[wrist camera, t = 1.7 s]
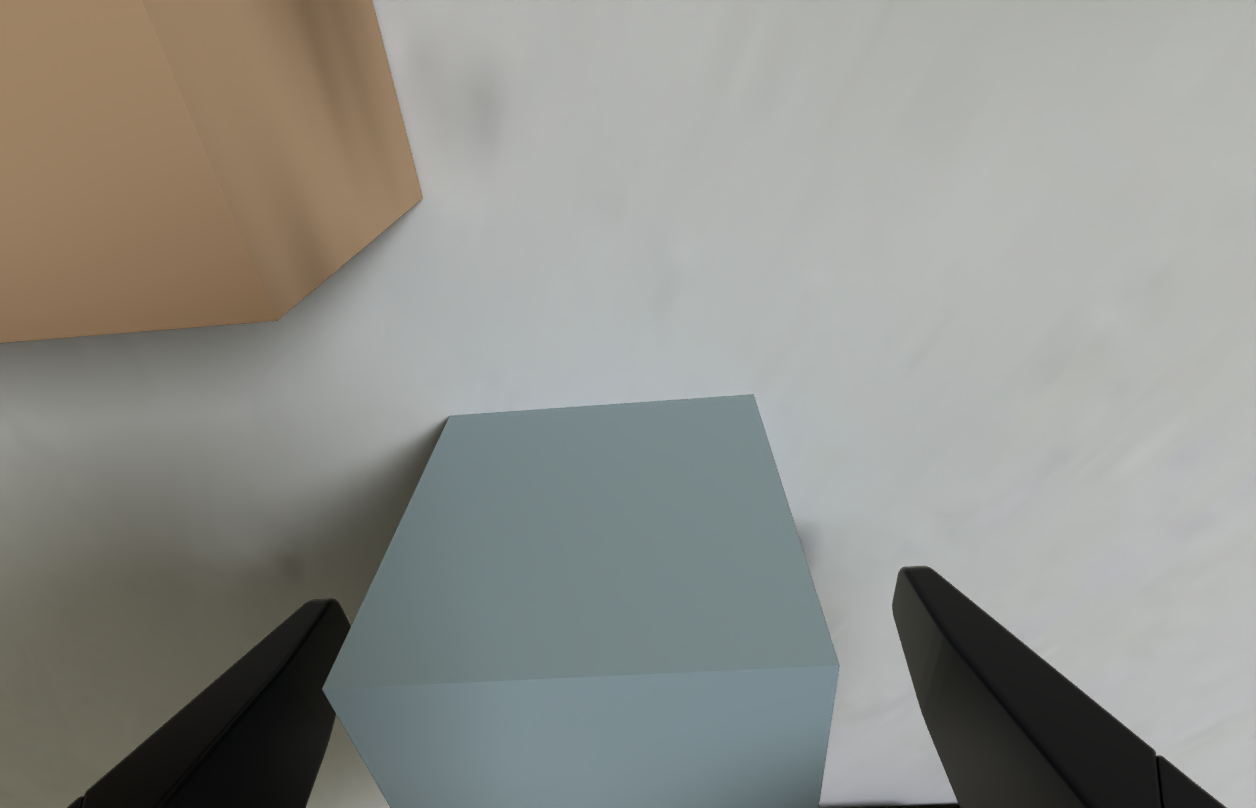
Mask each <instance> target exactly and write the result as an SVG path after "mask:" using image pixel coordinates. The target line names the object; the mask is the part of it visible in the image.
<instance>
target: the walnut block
mask: <svg viewBox="0 0 1256 808" xmlns="http://www.w3.org/2000/svg"><path fill="white" fill-rule="evenodd" d="M422 198H423V196H422V192H421V189H420V185H419V181H418V177H417V173H416V169H415V165H414V161H413V157H412V153H411V150H410V146H409V142H408V138H407V134H406V130H405V126H404V122H403V118H402V114H401V111H400V107H399V103H398V99H397V95H396V91H395V87H394V83H393V79H392V76H391V72H390V68H389V64H388V60H387V56H386V52H385V48H384V44H383V40H382V37H381V33H380V29H379V25H378V21H377V17H376V13H375V9H374V5H373V2H372V0H0V343H5V342H17V341H30V340H42V339H55V338H67V337H80V336H92V335H105V334H117V333H130V332H142V331H155V330H167V329H180V328H192V327H205V326H217V325H230V324H242V323H255V322H267V321H277V320H279V319H280V318H281V317H282V316H283V315H284V314H286V313H287V312H288V311H289V310H290V309H292V308H293V307H294V306H295V305H296V304H298V303H299V302H300V301H301V300H302V299H304V298H305V297H306V296H307V295H308V294H309V293H311V292H312V291H313V290H314V289H315V288H317V287H318V286H319V285H320V284H321V283H323V282H324V281H325V280H326V279H327V278H328V277H330V276H331V275H332V274H333V273H334V272H336V271H337V270H338V269H339V268H340V267H342V266H343V265H344V264H345V263H346V262H347V261H349V260H350V259H351V258H352V257H353V256H355V255H356V254H357V253H358V252H359V251H361V250H362V249H363V248H364V247H365V246H367V245H368V244H369V243H370V242H371V241H372V240H374V239H375V238H376V237H377V236H378V235H380V234H381V233H382V232H383V231H384V230H386V229H387V228H388V227H389V226H390V225H391V224H393V223H394V222H395V221H396V220H397V219H399V218H400V217H401V216H402V215H403V214H405V213H406V212H407V211H408V210H409V209H410V208H412V207H413V206H414V205H415V204H416V203H418V202H419V201H420V200H421V199H422Z"/></svg>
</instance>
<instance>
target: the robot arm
mask: <svg viewBox="0 0 1256 808" xmlns="http://www.w3.org/2000/svg"><path fill="white" fill-rule="evenodd" d="M892 609H893V616H894V620H895V623H896V627H897V630H898V634H899V637H900V641H901V644H902V647H903V651H904V654H905V658H906V661H907V665H908V668H909V672H910V675H911V678H912V682H913V685H914V689H915V692H916V696H917V699H918V702H919V705H920V709H921V712H922V715H923V717H924V720H925V723H926V725H927V728H928V730H929V733H930V735H931V738H932V740H933V743H934V745H935V747H936V750H937V752H938V755H939V757H940V760H941V762H942V765H943V767H944V769H945V772H946V774H947V777H948V779H949V782H950V784H951V786H952V789H953V791H954V794H955V796H956V799H957V801H958V803H959V806H960V808H1226V807H1225V806H1224V805H1223V804H1221V803H1220V802H1219V801H1218V800H1216V799H1215V798H1214V797H1213V796H1211V795H1210V794H1209V793H1207V792H1206V791H1205V790H1204V789H1202V788H1201V787H1200V786H1199V785H1197V784H1196V783H1195V782H1193V781H1192V780H1191V779H1190V778H1189V777H1187V776H1186V775H1185V774H1184V773H1182V772H1181V771H1180V770H1179V769H1178V768H1176V767H1175V766H1174V765H1173V764H1171V763H1170V762H1169V761H1168V760H1166V759H1165V758H1164V757H1163V756H1160V755H1158V756H1156V752H1155V750H1154V749H1153V748H1151V747H1150V746H1149V745H1148V744H1147V743H1145V742H1144V741H1143V740H1142V739H1140V738H1139V737H1138V736H1137V735H1135V734H1134V733H1133V732H1132V731H1131V730H1129V729H1128V728H1127V727H1126V726H1124V725H1123V724H1122V723H1121V722H1120V721H1118V720H1117V719H1116V718H1115V717H1113V716H1112V715H1111V714H1110V713H1109V712H1107V711H1106V710H1105V709H1104V708H1102V707H1101V706H1100V705H1099V704H1097V703H1096V702H1095V701H1094V700H1093V699H1091V698H1090V697H1089V696H1088V695H1086V694H1085V693H1084V692H1083V691H1082V690H1080V689H1079V688H1078V687H1077V686H1075V685H1074V684H1073V683H1072V682H1071V681H1069V680H1068V679H1067V678H1066V677H1064V676H1063V675H1062V674H1061V673H1059V672H1058V671H1057V670H1056V669H1055V668H1053V667H1052V666H1051V665H1050V664H1048V663H1047V662H1046V661H1045V660H1044V659H1042V658H1041V657H1040V656H1039V655H1037V654H1036V653H1035V652H1034V651H1032V650H1031V649H1030V648H1029V647H1028V646H1026V645H1025V644H1024V643H1023V642H1021V641H1020V640H1019V639H1018V638H1017V637H1015V636H1014V635H1013V634H1012V633H1010V632H1009V631H1008V630H1007V629H1006V628H1004V627H1003V626H1002V625H1001V624H999V623H998V622H997V621H996V620H994V619H993V618H992V617H991V616H990V615H988V614H987V613H986V612H985V611H983V610H982V609H981V608H980V607H979V606H977V605H976V604H975V603H974V602H972V601H971V600H970V599H969V598H968V597H966V596H965V595H964V594H963V593H961V592H960V591H959V590H958V589H956V588H955V587H954V586H953V585H952V584H950V583H949V582H948V581H947V580H945V579H944V578H943V577H942V576H941V575H939V574H938V573H937V572H936V571H934V570H933V569H932V568H930V567H927V566H911V567H903V568H901V569H900V571H899V573H898V577H897V582H896V587H895V592H894V597H893V603H892ZM350 628H351V625H350V623H349V621H348V619H347V617H346V615H345V613H344V611H343V609H342V607H341V605H340V603H339V602H338V601H337V600H335V599H332V598H330V599H314V600H310V601H308V602H307V603H305V604H304V605H303V606H302V607H300V608H299V609H298V610H297V611H296V612H295V613H293V614H292V615H291V616H290V617H289V618H288V619H286V620H285V621H284V622H283V623H282V624H281V625H279V626H278V627H277V628H276V629H275V630H274V631H272V632H271V633H270V634H269V635H268V636H267V637H265V638H264V639H263V640H262V641H261V642H260V643H258V644H257V645H256V646H255V647H254V648H253V649H251V650H250V651H249V652H248V653H247V654H246V655H244V656H243V657H242V658H241V659H240V660H239V661H237V662H236V663H235V664H234V665H233V666H232V667H230V668H229V669H228V670H227V671H226V672H225V673H223V674H222V675H221V676H220V677H219V678H218V679H216V680H215V681H214V682H213V683H212V684H211V685H209V686H208V687H207V688H206V689H205V690H204V691H202V692H201V693H200V694H199V695H198V696H197V697H195V698H194V699H193V700H192V701H191V702H190V703H188V704H187V705H186V706H185V707H184V708H183V709H181V710H180V711H179V712H178V713H177V714H176V715H174V716H173V717H172V718H171V719H170V720H169V721H167V722H166V723H165V724H164V725H163V726H162V727H160V728H159V729H158V730H157V731H156V732H155V733H153V734H152V735H151V736H150V737H149V738H148V739H146V740H145V741H144V742H143V743H142V744H141V745H139V746H138V747H137V748H136V749H135V750H134V751H132V752H131V753H130V754H129V755H128V756H127V757H126V758H124V759H123V760H122V761H121V762H120V763H119V764H117V765H116V766H115V767H114V768H113V769H112V770H110V771H109V772H108V773H107V774H106V775H105V776H103V777H102V778H101V779H100V780H99V781H98V782H96V783H95V784H94V785H93V786H92V787H90V788H89V789H88V790H87V791H86V792H85V795H84V796H81V797H79V798H77V799H76V800H75V801H74V802H73V803H72V804H70V805H69V806H68V807H67V808H306V805H307V802H308V799H309V797H310V794H311V791H312V788H313V785H314V783H315V780H316V777H317V774H318V771H319V769H320V766H321V763H322V760H323V757H324V754H325V751H326V748H327V745H328V742H329V739H330V736H331V732H332V729H333V725H334V721H335V717H336V713H335V711H334V709H333V707H332V706H331V704H330V702H329V700H328V699H327V697H326V695H325V694H324V692H323V690H322V688H323V686H324V684H325V682H326V679H327V677H328V675H329V673H330V671H331V669H332V667H333V665H334V662H335V660H336V658H337V656H338V654H339V652H340V650H341V647H342V645H343V643H344V641H345V639H346V637H347V635H348V632H349V630H350Z"/></svg>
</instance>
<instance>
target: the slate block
mask: <svg viewBox="0 0 1256 808" xmlns="http://www.w3.org/2000/svg"><path fill="white" fill-rule="evenodd" d="M838 672H839V662H838V659H837V656H836V653H835V649H834V646H833V643H832V640H831V637H830V634H829V630H828V627H827V624H826V621H825V618H824V615H823V612H822V608H821V605H820V602H819V599H818V596H817V593H816V590H815V586H814V583H813V580H812V577H811V574H810V571H809V567H808V564H807V561H806V558H805V555H804V552H803V549H802V545H801V542H800V539H799V536H798V533H797V530H796V526H795V523H794V520H793V517H792V514H791V511H790V508H789V504H788V501H787V498H786V495H785V492H784V489H783V486H782V482H781V479H780V476H779V473H778V470H777V467H776V463H775V460H774V457H773V454H772V451H771V448H770V445H769V441H768V438H767V435H766V432H765V429H764V426H763V423H762V419H761V416H760V413H759V410H758V407H757V404H756V400H755V397H754V394H752V395H738V396H723V397H709V398H695V399H681V400H667V401H652V402H638V403H624V404H610V405H596V406H581V407H567V408H553V409H539V410H525V411H511V412H496V413H482V414H468V415H454V416H449V418H448V420H447V423H446V425H445V427H444V429H443V431H442V433H441V435H440V438H439V440H438V442H437V444H436V446H435V448H434V450H433V453H432V455H431V457H430V459H429V461H428V463H427V465H426V468H425V470H424V472H423V474H422V476H421V478H420V480H419V483H418V485H417V487H416V489H415V491H414V493H413V495H412V498H411V500H410V502H409V504H408V506H407V508H406V510H405V513H404V515H403V517H402V519H401V521H400V523H399V525H398V527H397V530H396V532H395V534H394V536H393V538H392V540H391V542H390V545H389V547H388V549H387V551H386V553H385V555H384V557H383V560H382V562H381V564H380V566H379V568H378V570H377V572H376V575H375V577H374V579H373V581H372V583H371V585H370V587H369V590H368V592H367V594H366V596H365V598H364V600H363V602H362V605H361V607H360V609H359V611H358V613H357V615H356V617H355V620H354V622H353V624H352V626H351V628H350V630H349V632H348V635H347V637H346V639H345V641H344V643H343V645H342V647H341V650H340V652H339V654H338V656H337V658H336V660H335V662H334V665H333V667H332V669H331V671H330V673H329V675H328V677H327V679H326V682H325V684H324V686H323V688H322V690H323V692H324V694H325V695H326V697H327V699H328V700H329V702H330V704H331V706H332V707H333V709H334V711H335V713H336V714H337V716H338V718H339V719H340V721H341V723H342V725H343V726H344V728H345V730H346V732H347V733H348V735H349V737H350V739H351V740H352V742H353V744H354V745H355V747H356V749H357V751H358V752H359V754H360V756H361V758H362V759H363V761H364V763H365V764H366V766H367V768H368V770H369V771H370V773H371V775H372V777H373V778H374V780H375V782H376V784H377V785H378V787H379V789H380V790H381V792H382V794H383V796H384V797H385V799H386V801H387V803H388V804H389V806H390V808H819V801H820V794H821V787H822V781H823V774H824V767H825V760H826V753H827V747H828V740H829V733H830V726H831V720H832V713H833V706H834V699H835V693H836V686H837V679H838Z"/></svg>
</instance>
